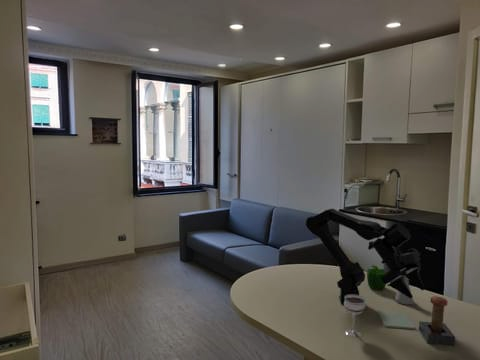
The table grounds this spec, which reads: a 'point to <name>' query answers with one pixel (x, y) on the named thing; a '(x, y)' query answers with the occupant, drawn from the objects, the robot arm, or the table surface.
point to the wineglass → (354, 310)
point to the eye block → (436, 334)
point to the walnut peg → (437, 313)
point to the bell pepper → (375, 278)
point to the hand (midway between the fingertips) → (417, 293)
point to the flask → (403, 298)
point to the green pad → (396, 320)
